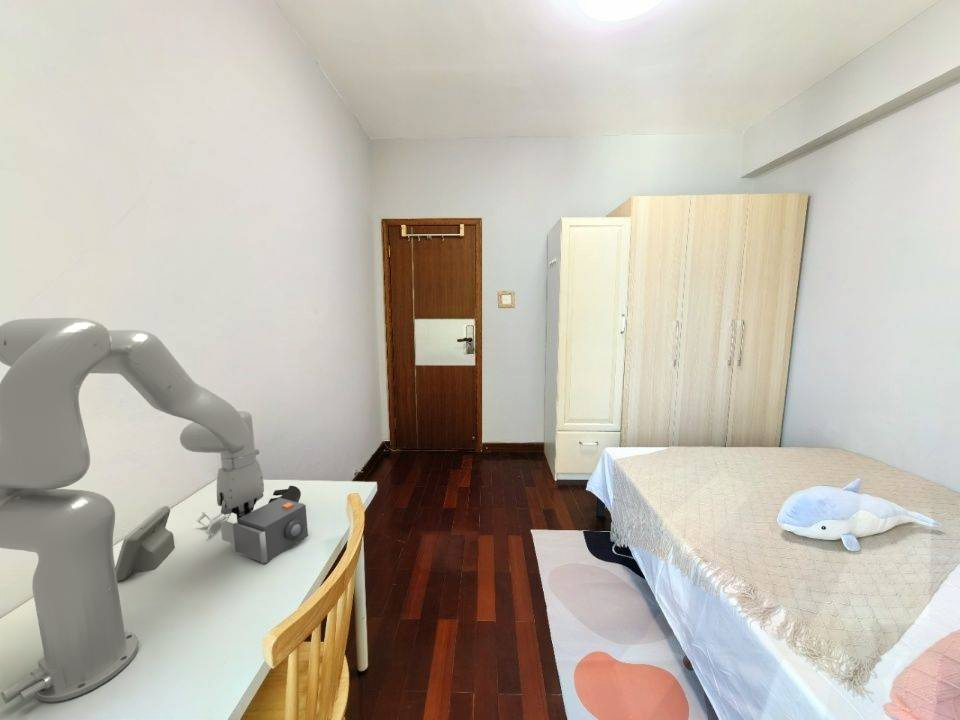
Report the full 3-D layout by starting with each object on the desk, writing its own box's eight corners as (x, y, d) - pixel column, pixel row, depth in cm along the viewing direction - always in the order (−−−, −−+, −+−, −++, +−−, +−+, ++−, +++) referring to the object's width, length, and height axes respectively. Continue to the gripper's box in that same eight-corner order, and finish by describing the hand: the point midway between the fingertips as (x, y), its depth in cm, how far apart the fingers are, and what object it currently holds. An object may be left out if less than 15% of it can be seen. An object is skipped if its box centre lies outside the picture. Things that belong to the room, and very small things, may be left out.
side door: (264, 563, 94) (261, 534, 93) (222, 547, 101) (219, 520, 100) (268, 560, 95) (266, 532, 94) (226, 544, 102) (224, 517, 101)
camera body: (271, 563, 95) (268, 525, 94) (241, 551, 100) (237, 515, 98) (311, 537, 106) (309, 502, 104) (282, 527, 110) (279, 494, 109)
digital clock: (155, 542, 105) (150, 504, 103) (189, 541, 105) (185, 503, 103) (98, 584, 88) (91, 540, 87) (139, 583, 89) (132, 539, 87)
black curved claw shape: (296, 520, 114) (294, 498, 114) (269, 524, 113) (267, 502, 112) (301, 504, 124) (300, 484, 123) (277, 507, 122) (275, 487, 121)
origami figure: (197, 524, 113) (195, 508, 113) (231, 515, 118) (229, 500, 117) (195, 544, 103) (193, 527, 103) (232, 534, 108) (231, 517, 107)
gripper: (256, 448, 109) (262, 510, 111) (199, 468, 96) (206, 538, 98) (274, 452, 106) (280, 516, 108) (218, 473, 92) (225, 545, 95)
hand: (245, 526), depth 103 cm, fingers closed
